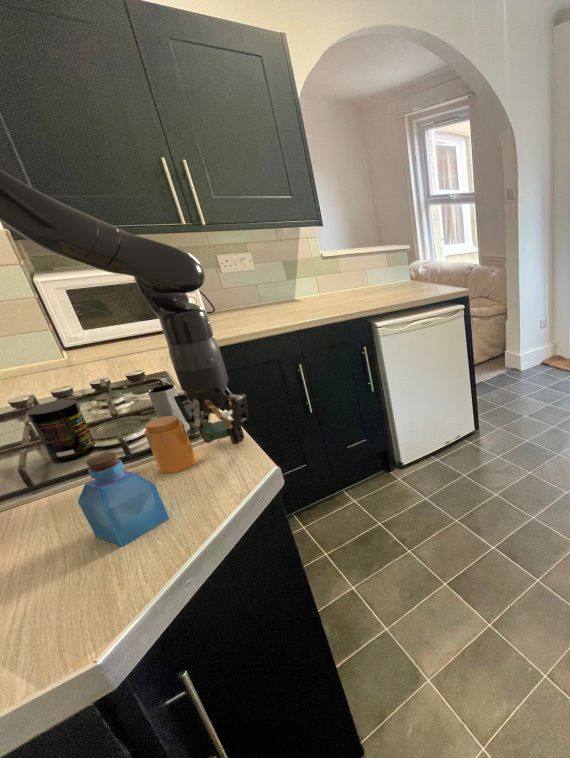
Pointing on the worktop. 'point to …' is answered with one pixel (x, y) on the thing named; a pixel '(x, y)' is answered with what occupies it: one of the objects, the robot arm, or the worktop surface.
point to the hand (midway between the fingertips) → (224, 441)
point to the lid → (215, 431)
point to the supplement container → (62, 430)
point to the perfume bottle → (119, 501)
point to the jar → (170, 444)
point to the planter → (166, 402)
